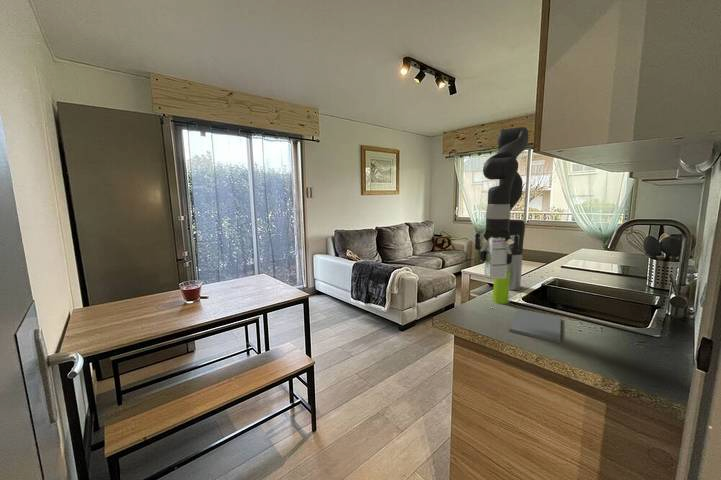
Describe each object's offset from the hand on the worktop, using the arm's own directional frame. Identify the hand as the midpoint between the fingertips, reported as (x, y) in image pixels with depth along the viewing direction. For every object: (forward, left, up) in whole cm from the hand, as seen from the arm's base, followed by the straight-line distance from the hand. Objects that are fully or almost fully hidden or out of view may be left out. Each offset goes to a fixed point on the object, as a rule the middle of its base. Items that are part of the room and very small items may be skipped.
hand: (495, 262), depth 102 cm
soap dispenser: (-22, 0, -22) cm, 31 cm away
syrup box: (0, 0, -5) cm, 5 cm away
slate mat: (-4, +14, -22) cm, 26 cm away
